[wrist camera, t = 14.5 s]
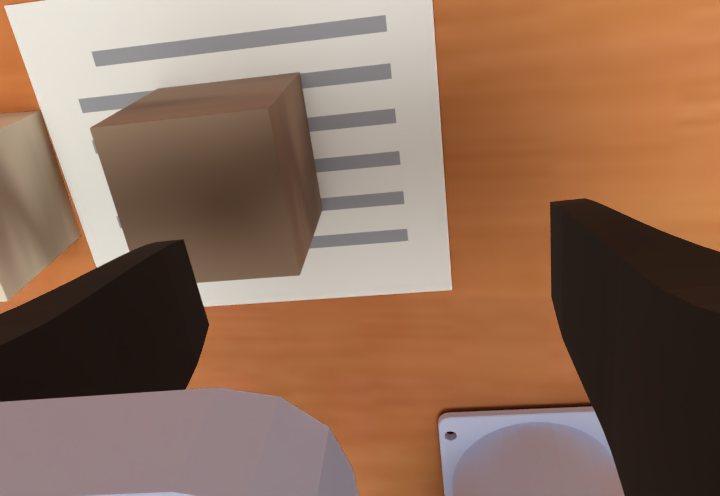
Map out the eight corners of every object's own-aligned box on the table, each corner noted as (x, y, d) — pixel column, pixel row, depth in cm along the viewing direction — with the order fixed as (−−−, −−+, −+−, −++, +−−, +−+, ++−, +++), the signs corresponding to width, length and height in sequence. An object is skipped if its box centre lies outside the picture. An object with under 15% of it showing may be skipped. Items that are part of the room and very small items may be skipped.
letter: (452, 288, 24) (452, 290, 24) (114, 310, 26) (112, 312, 26) (428, -53, 19) (428, -53, 19) (6, 5, 21) (4, 5, 20)
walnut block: (322, 209, 23) (300, 275, 18) (193, 220, 23) (140, 287, 19) (299, 71, 21) (268, 108, 16) (158, 88, 21) (89, 128, 17)
